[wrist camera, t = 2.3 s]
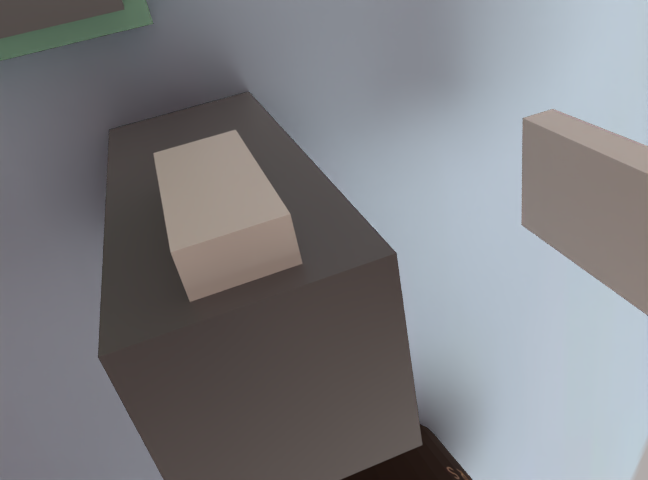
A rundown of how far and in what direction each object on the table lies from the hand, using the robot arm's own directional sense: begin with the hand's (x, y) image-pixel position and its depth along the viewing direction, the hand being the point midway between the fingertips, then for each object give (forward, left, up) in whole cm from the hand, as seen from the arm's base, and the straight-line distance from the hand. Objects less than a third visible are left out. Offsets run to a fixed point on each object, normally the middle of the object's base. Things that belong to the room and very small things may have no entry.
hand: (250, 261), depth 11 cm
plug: (0, 0, -6) cm, 6 cm away
